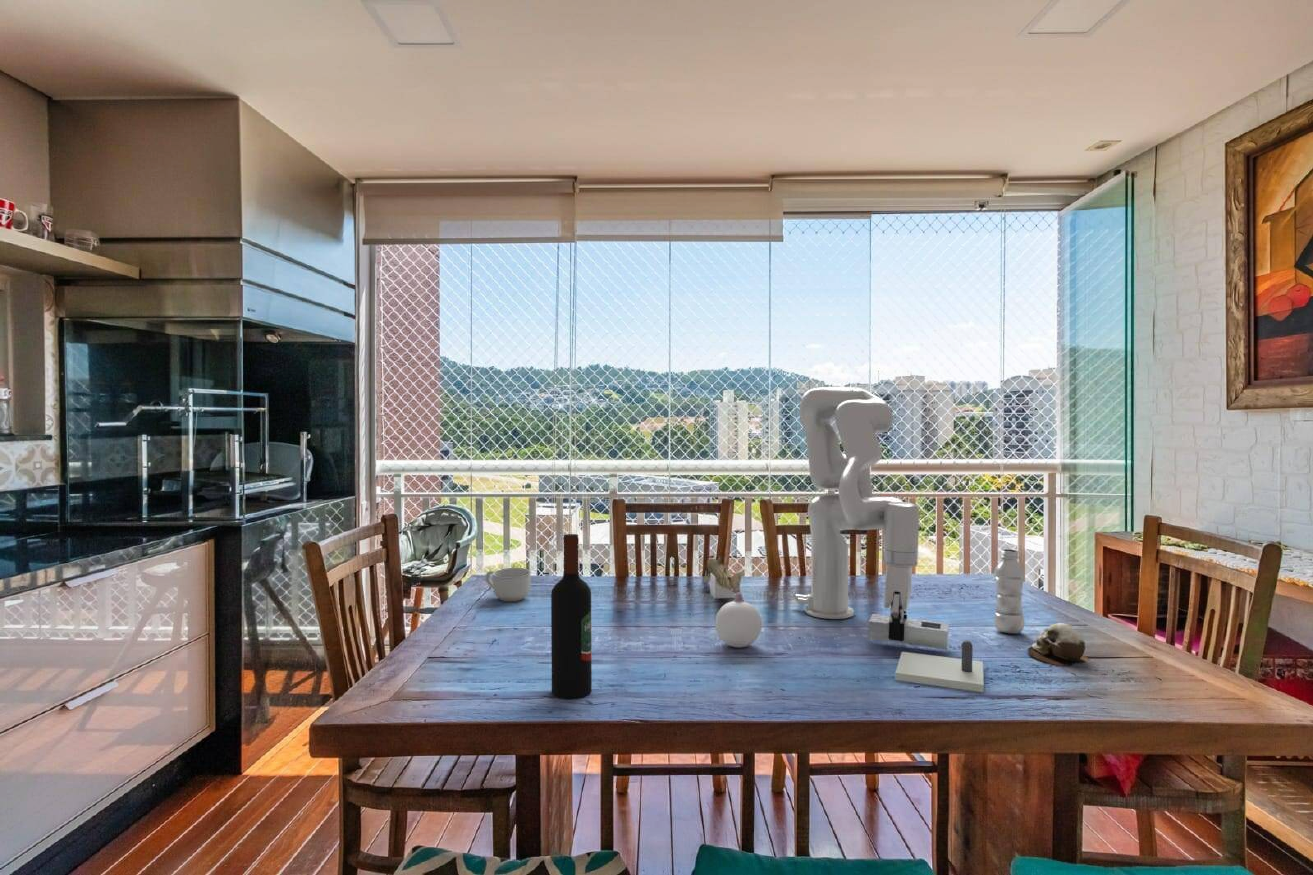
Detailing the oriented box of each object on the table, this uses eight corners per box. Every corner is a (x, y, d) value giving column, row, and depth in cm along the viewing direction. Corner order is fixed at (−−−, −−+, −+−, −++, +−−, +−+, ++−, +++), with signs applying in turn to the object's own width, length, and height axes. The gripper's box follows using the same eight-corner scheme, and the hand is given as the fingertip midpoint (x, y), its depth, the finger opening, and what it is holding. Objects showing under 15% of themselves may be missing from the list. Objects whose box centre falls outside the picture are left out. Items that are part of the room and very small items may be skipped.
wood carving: (723, 614, 192) (723, 572, 192) (697, 584, 227) (697, 548, 226) (756, 613, 193) (756, 571, 193) (725, 583, 228) (725, 547, 228)
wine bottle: (552, 684, 142) (552, 532, 141) (591, 683, 142) (591, 531, 142) (550, 699, 134) (549, 538, 133) (591, 698, 135) (590, 538, 134)
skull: (1011, 649, 160) (1032, 611, 163) (1036, 675, 163) (1056, 637, 166) (1062, 664, 149) (1084, 623, 152) (1087, 692, 152) (1108, 651, 155)
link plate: (868, 638, 164) (869, 621, 164) (871, 630, 170) (872, 613, 170) (946, 649, 158) (947, 631, 157) (947, 641, 163) (948, 623, 163)
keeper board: (895, 680, 144) (895, 642, 144) (901, 658, 157) (902, 624, 157) (983, 692, 138) (983, 653, 138) (982, 668, 151) (983, 633, 150)
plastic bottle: (1027, 637, 172) (1029, 553, 171) (997, 635, 173) (998, 552, 172) (1020, 629, 178) (1021, 548, 177) (990, 628, 179) (991, 547, 179)
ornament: (735, 636, 173) (735, 586, 172) (770, 646, 166) (770, 594, 165) (706, 646, 166) (706, 593, 165) (741, 656, 158) (742, 602, 158)
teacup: (538, 597, 210) (538, 570, 210) (512, 605, 201) (512, 577, 201) (503, 591, 217) (503, 564, 217) (476, 599, 208) (476, 571, 208)
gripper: (887, 548, 173) (884, 622, 174) (878, 563, 157) (875, 645, 158) (920, 551, 170) (917, 626, 171) (914, 567, 154) (912, 650, 155)
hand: (897, 634), depth 165 cm, fingers closed on link plate, 6 cm apart
